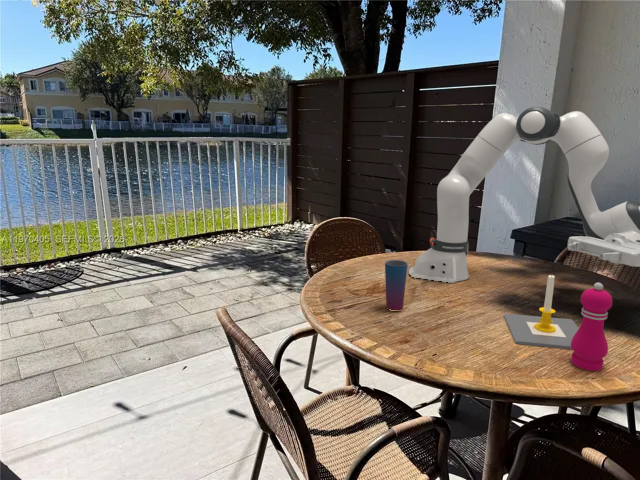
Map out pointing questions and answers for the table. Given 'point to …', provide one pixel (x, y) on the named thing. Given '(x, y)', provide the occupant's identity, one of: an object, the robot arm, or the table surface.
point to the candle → (547, 309)
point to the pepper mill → (592, 330)
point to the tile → (529, 335)
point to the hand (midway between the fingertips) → (585, 252)
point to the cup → (395, 283)
